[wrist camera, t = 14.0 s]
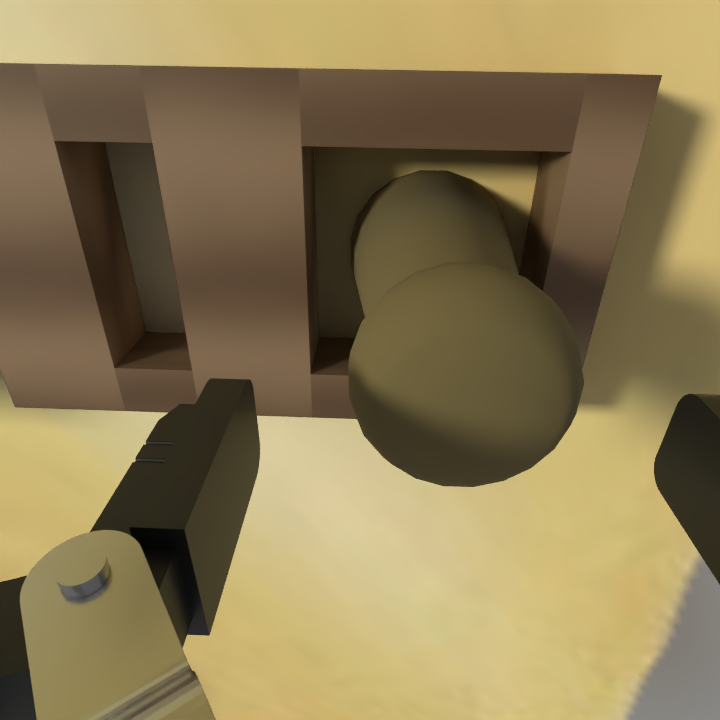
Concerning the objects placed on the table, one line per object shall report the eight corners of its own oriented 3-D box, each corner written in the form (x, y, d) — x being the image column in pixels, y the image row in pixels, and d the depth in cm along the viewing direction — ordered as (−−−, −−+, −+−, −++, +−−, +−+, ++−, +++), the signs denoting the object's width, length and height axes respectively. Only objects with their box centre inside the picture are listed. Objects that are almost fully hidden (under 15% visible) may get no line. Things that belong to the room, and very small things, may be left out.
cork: (317, 249, 20) (260, 417, 10) (436, 131, 18) (503, 204, 8) (420, 348, 22) (452, 564, 12) (538, 253, 20) (689, 428, 10)
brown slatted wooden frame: (-46, 62, 17) (-122, 61, 14) (618, 73, 17) (661, 75, 14) (56, 369, 23) (15, 407, 20) (545, 384, 23) (566, 426, 20)
